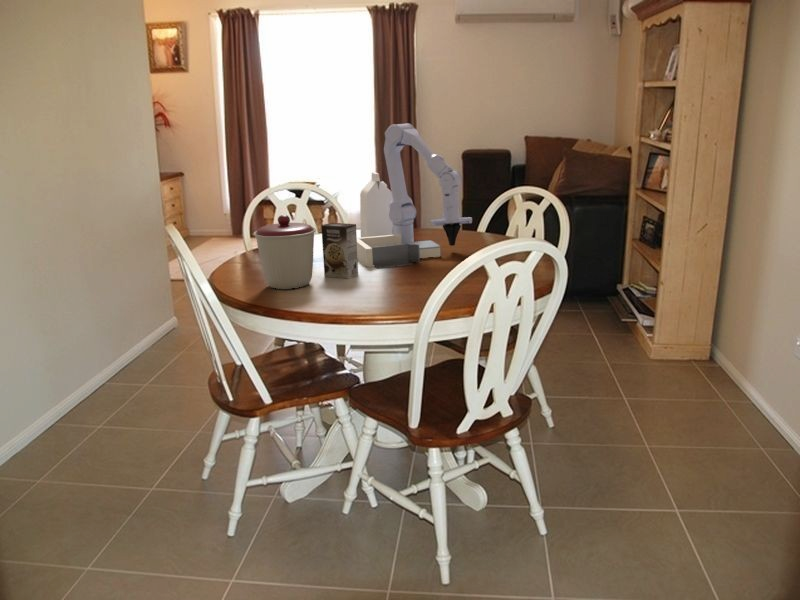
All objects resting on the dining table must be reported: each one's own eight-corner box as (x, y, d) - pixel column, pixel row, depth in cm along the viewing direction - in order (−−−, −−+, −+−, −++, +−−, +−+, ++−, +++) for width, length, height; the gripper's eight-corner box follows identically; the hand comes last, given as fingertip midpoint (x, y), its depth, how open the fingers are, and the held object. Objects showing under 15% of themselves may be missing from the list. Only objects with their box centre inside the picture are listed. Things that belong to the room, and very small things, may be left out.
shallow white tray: (352, 254, 252) (351, 237, 251) (401, 250, 257) (400, 233, 255) (367, 267, 232) (366, 249, 230) (419, 262, 236) (418, 244, 235)
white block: (406, 253, 252) (406, 242, 251) (431, 251, 254) (431, 240, 253) (415, 260, 241) (415, 248, 240) (441, 257, 243) (440, 246, 242)
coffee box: (323, 276, 221) (320, 225, 217) (334, 272, 227) (331, 222, 222) (348, 279, 217) (345, 226, 213) (359, 274, 222) (356, 223, 218)
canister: (246, 287, 211) (239, 217, 206) (293, 275, 224) (288, 209, 219) (284, 296, 200) (278, 222, 194) (332, 283, 212) (327, 213, 207)
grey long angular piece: (371, 265, 234) (370, 247, 233) (417, 260, 238) (416, 242, 237) (375, 268, 229) (374, 250, 227) (422, 263, 233) (421, 245, 231)
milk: (360, 239, 282) (357, 172, 275) (388, 236, 284) (385, 170, 277) (367, 244, 270) (363, 175, 263) (396, 241, 273) (393, 173, 266)
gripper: (434, 209, 240) (436, 248, 244) (475, 206, 244) (475, 245, 248) (428, 206, 247) (429, 245, 251) (467, 203, 251) (468, 241, 254)
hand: (452, 245), depth 250 cm, fingers closed
